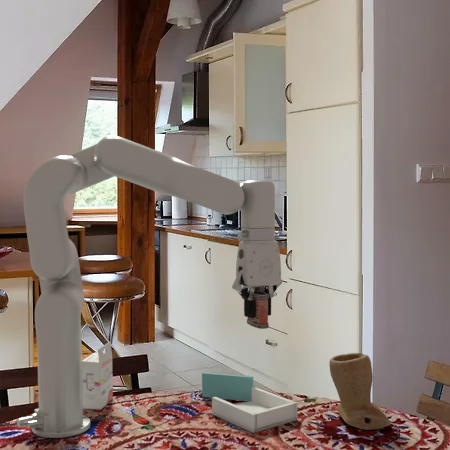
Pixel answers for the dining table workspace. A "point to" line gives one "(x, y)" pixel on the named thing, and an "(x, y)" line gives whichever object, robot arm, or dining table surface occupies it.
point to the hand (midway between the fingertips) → (257, 315)
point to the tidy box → (257, 411)
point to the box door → (227, 386)
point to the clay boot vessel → (356, 391)
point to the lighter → (260, 309)
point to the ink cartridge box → (97, 378)
